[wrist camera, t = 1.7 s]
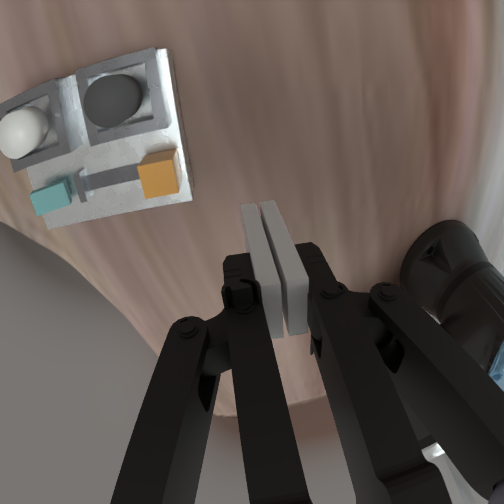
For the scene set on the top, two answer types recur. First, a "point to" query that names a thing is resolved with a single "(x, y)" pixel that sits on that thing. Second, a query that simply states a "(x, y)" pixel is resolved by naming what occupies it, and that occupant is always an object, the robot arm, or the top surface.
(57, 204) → the teal rectangular block
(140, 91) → the button
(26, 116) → the button
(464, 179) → the top surface
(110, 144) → the panel
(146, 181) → the slider knob
